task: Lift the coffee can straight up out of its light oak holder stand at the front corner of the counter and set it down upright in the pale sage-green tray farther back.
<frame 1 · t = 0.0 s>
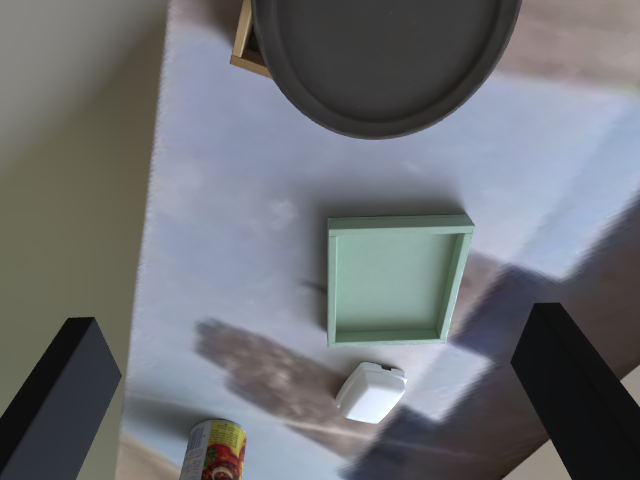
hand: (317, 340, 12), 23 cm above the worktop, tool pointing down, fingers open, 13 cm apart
canned food: (219, 433, 57), on the worktop
tray: (390, 280, 41), on the worktop
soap: (369, 385, 51), on the worktop
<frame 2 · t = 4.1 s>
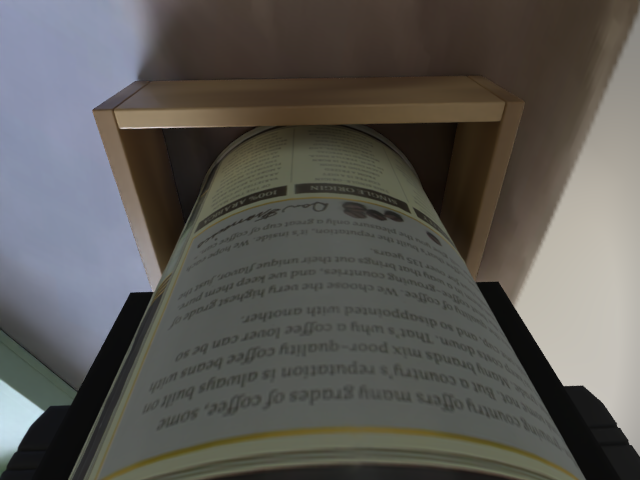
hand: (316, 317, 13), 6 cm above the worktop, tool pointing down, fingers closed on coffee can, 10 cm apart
coffee can: (313, 222, 18), resting in can stand, touching gripper
can stand: (313, 224, 18), on the worktop
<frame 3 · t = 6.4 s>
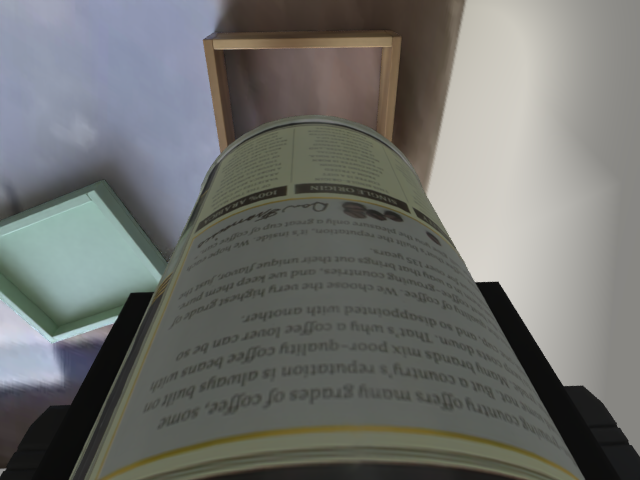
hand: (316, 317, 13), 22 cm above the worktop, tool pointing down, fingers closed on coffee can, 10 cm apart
tray: (79, 263, 38), on the worktop
coffee can: (313, 222, 18), point 16 cm above the worktop, touching gripper
can stand: (305, 120, 31), on the worktop
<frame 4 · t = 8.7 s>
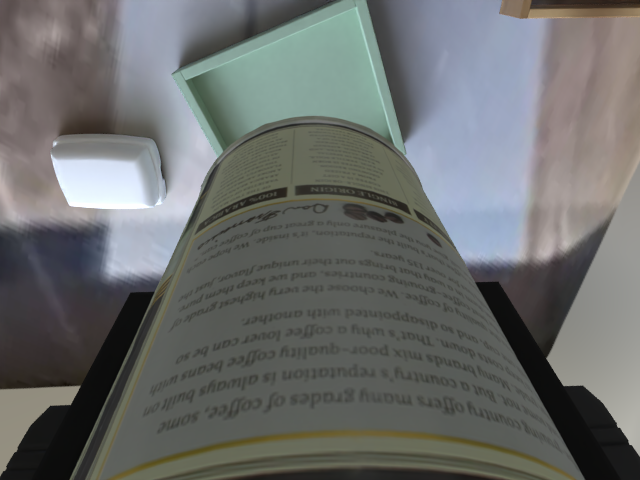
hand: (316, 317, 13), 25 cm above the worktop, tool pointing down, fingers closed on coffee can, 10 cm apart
tray: (297, 110, 34), on the worktop
coffee can: (313, 223, 18), point 19 cm above the worktop, touching gripper
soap: (115, 168, 37), on the worktop
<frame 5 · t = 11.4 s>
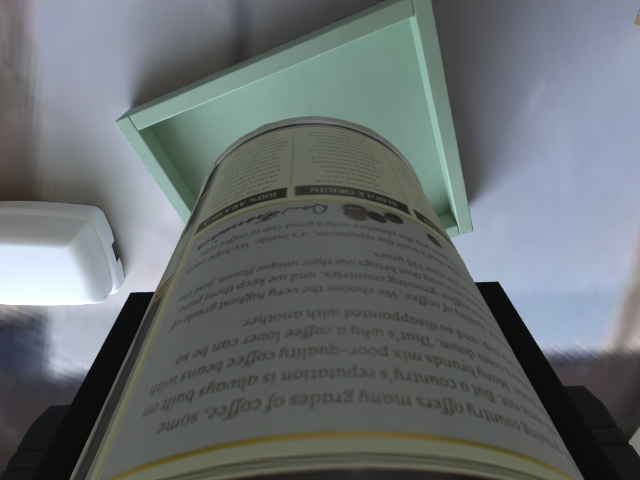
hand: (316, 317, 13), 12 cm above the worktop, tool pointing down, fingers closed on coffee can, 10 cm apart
tray: (311, 166, 23), on the worktop
coffee can: (313, 223, 18), point 6 cm above the worktop, touching gripper
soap: (48, 245, 26), on the worktop
when the fingers open (6 cm above the worktop, at t = 13.3 s): coffee can stays where it is, resting on tray.
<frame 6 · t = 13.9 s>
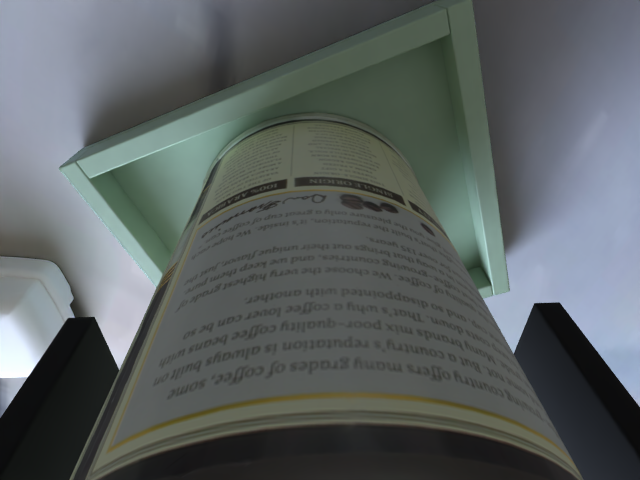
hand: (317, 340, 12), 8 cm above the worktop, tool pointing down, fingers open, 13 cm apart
tray: (312, 214, 19), on the worktop
coffee can: (312, 218, 18), resting on tray
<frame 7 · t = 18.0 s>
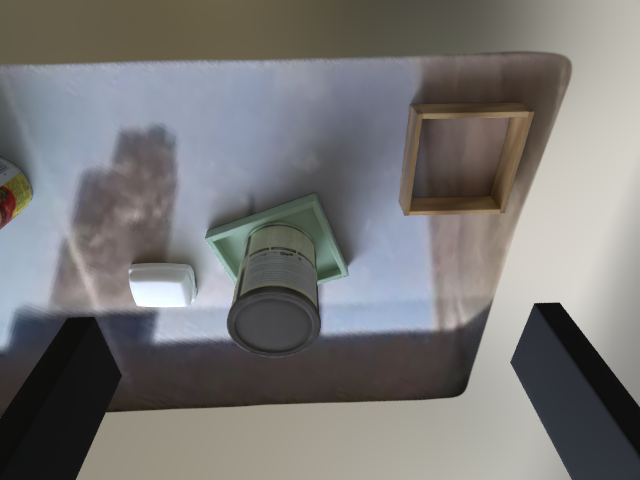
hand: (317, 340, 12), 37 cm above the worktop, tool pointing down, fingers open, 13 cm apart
tray: (280, 249, 55), on the worktop
coffee can: (280, 250, 55), resting on tray
can stand: (455, 155, 48), on the worktop
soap: (165, 280, 58), on the worktop
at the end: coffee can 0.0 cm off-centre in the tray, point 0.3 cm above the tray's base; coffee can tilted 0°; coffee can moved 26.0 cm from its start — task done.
